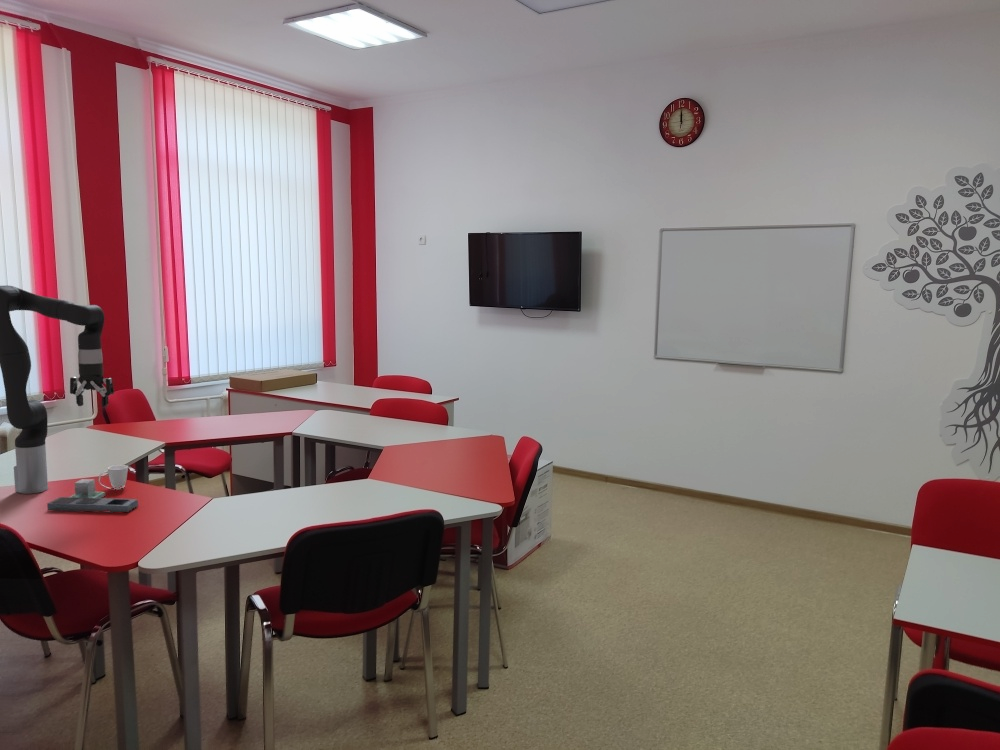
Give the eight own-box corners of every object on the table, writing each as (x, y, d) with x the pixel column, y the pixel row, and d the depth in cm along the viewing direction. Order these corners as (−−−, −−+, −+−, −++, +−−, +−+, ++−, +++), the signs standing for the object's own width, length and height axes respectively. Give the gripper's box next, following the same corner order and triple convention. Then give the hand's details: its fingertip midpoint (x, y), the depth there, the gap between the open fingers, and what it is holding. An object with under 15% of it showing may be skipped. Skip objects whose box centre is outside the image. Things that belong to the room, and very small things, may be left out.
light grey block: (75, 500, 246) (74, 482, 245) (82, 496, 250) (81, 479, 249) (88, 500, 246) (87, 483, 245) (95, 496, 250) (94, 479, 250)
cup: (131, 488, 262) (130, 467, 261) (101, 493, 256) (100, 472, 255) (126, 483, 268) (125, 463, 266) (97, 488, 261) (96, 467, 260)
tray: (65, 503, 244) (65, 499, 243) (80, 495, 253) (80, 491, 252) (91, 504, 244) (91, 499, 244) (105, 496, 253) (105, 491, 253)
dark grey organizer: (47, 510, 236) (47, 503, 236) (60, 503, 243) (59, 496, 243) (127, 512, 237) (127, 505, 236) (137, 506, 244) (137, 499, 243)
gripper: (63, 362, 243) (66, 407, 245) (105, 363, 243) (107, 408, 245) (76, 359, 250) (78, 403, 252) (116, 360, 250) (118, 404, 253)
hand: (92, 406), depth 249 cm, fingers open, 8 cm apart
